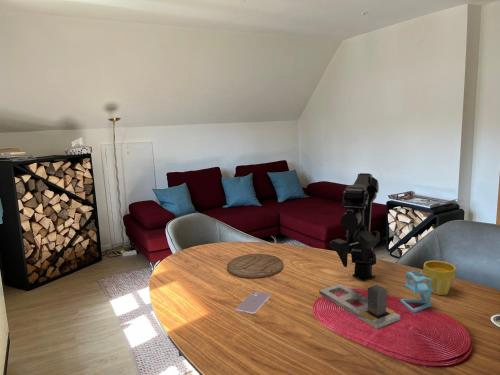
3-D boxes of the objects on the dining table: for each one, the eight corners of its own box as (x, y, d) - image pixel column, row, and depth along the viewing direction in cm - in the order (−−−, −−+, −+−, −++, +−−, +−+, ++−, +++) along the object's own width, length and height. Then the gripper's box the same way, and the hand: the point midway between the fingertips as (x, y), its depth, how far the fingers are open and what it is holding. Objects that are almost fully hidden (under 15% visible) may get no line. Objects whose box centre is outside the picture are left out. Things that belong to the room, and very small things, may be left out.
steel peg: (376, 312, 125) (376, 284, 123) (385, 318, 122) (386, 289, 120) (367, 316, 123) (367, 287, 121) (376, 321, 120) (377, 292, 118)
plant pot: (453, 287, 140) (454, 262, 139) (455, 299, 131) (456, 273, 129) (422, 283, 145) (423, 258, 143) (422, 295, 135) (423, 269, 134)
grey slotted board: (340, 287, 145) (340, 282, 144) (400, 319, 120) (400, 314, 120) (319, 294, 140) (319, 289, 140) (377, 329, 116) (377, 323, 115)
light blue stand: (436, 309, 125) (437, 275, 123) (412, 312, 124) (414, 278, 122) (421, 299, 133) (423, 266, 131) (399, 301, 132) (401, 269, 129)
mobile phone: (234, 308, 131) (253, 290, 144) (234, 311, 131) (253, 292, 145) (254, 312, 128) (271, 293, 141) (254, 315, 128) (271, 295, 141)
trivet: (293, 262, 172) (292, 258, 172) (265, 284, 151) (265, 279, 151) (246, 254, 185) (246, 250, 185) (215, 273, 165) (215, 269, 164)
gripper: (351, 232, 121) (351, 278, 124) (392, 222, 130) (391, 265, 133) (328, 224, 131) (329, 267, 134) (368, 216, 140) (368, 256, 142)
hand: (355, 264), depth 135 cm, fingers open, 9 cm apart
